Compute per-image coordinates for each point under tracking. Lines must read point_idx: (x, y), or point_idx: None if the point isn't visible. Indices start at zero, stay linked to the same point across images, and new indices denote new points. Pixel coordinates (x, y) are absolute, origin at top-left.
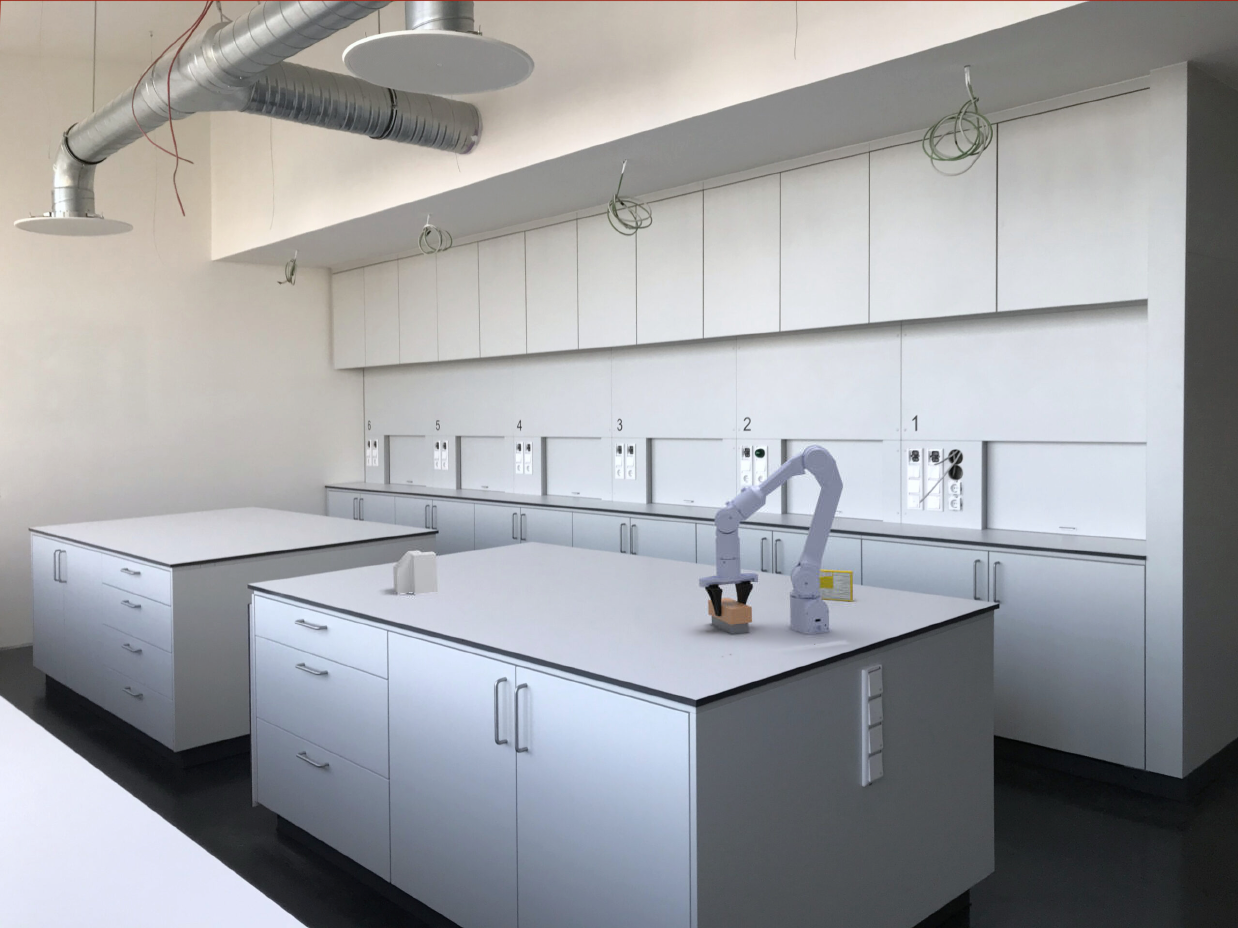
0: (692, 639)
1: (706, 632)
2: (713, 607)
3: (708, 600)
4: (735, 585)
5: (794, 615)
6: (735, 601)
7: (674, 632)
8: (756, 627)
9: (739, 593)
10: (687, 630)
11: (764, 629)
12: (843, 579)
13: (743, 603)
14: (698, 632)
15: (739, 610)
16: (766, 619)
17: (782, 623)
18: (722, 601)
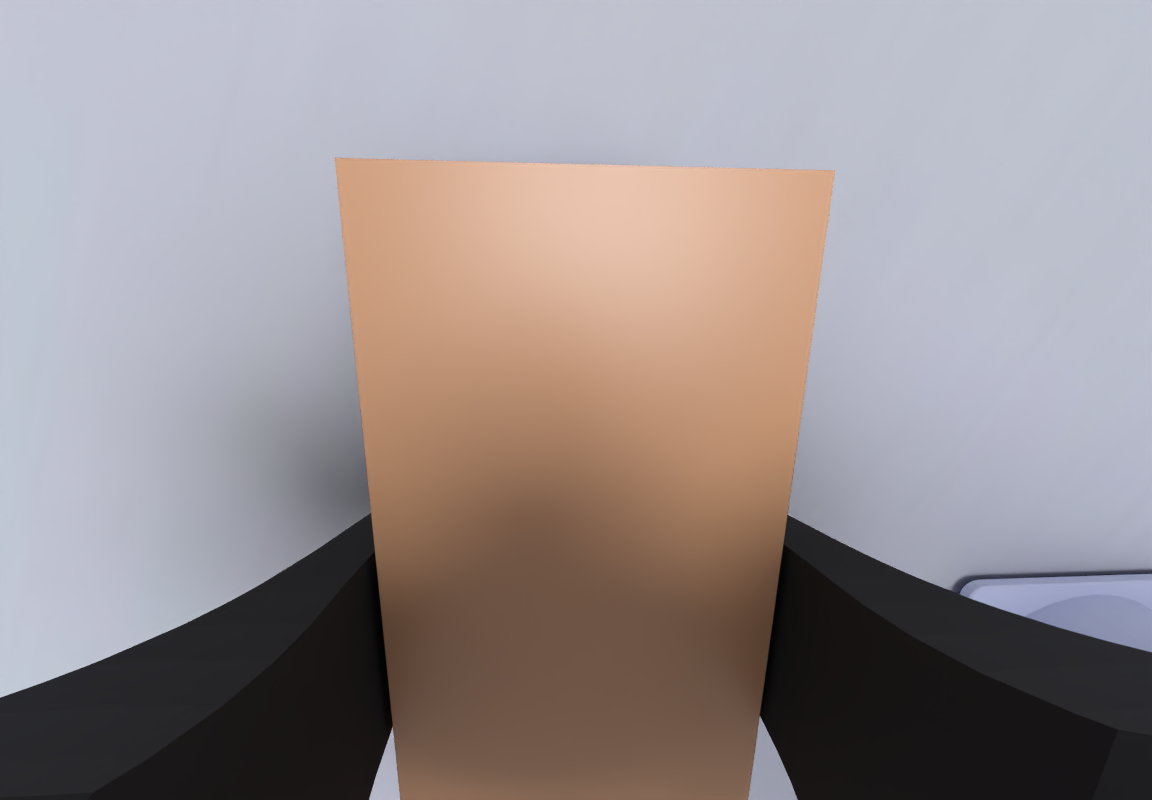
0: (145, 553)
1: (351, 372)
2: (332, 540)
3: (344, 180)
4: (1052, 719)
5: None
6: (741, 572)
7: (10, 222)
8: (856, 394)
9: (865, 750)
10: (180, 200)
11: (866, 486)
12: None
13: (772, 721)
14: (274, 338)
15: None
16: (1149, 125)
17: (1131, 357)
18: (545, 470)
